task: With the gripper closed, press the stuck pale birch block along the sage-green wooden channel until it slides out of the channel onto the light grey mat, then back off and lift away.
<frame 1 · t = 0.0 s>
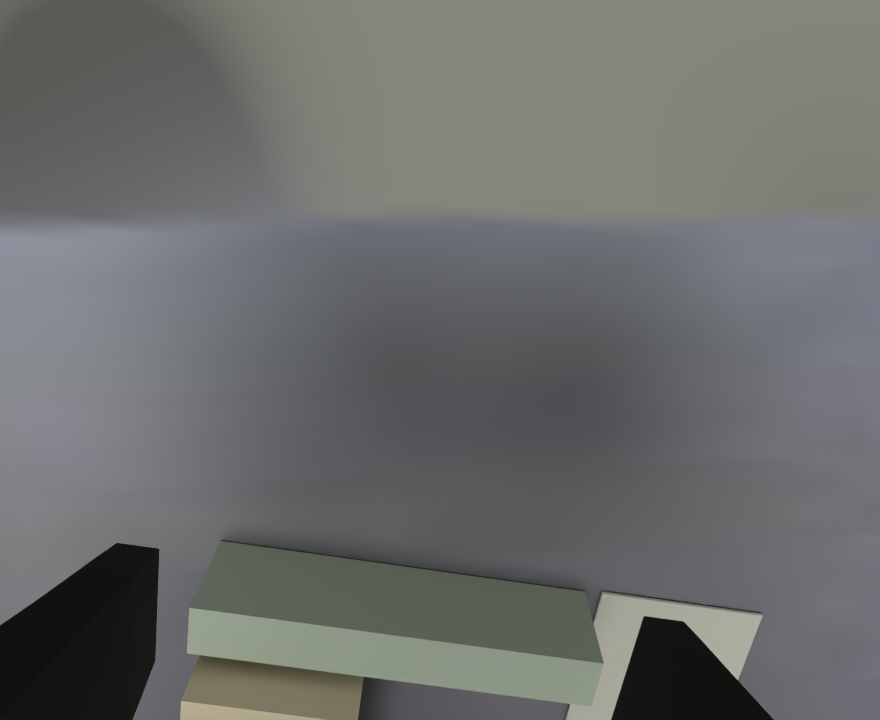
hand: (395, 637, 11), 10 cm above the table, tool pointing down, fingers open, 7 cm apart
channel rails: (383, 692, 25), on the table
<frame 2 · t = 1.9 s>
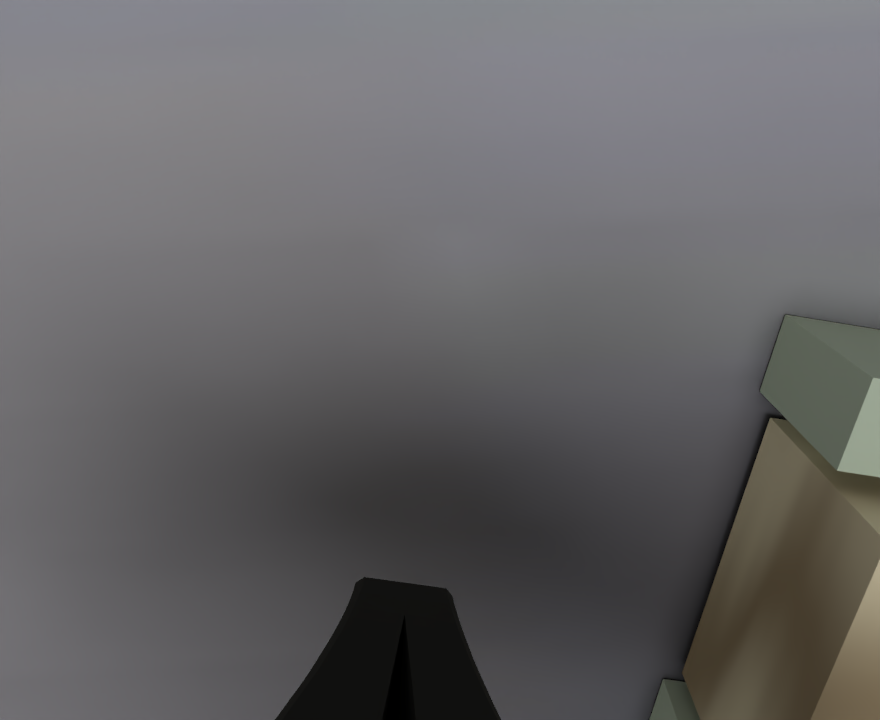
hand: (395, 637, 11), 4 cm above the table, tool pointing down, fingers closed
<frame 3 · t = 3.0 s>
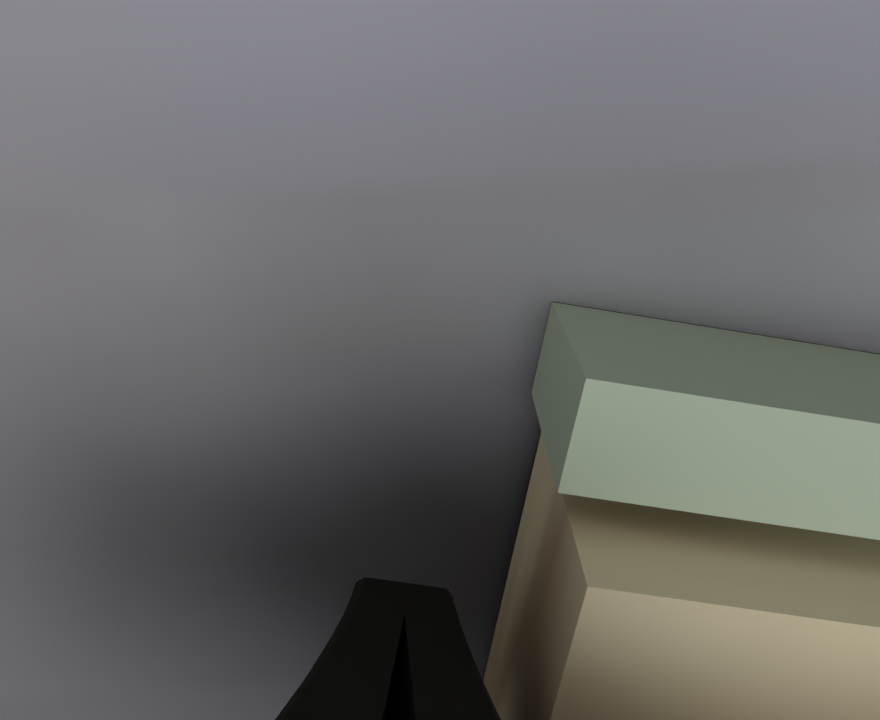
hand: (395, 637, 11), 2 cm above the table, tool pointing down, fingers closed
birch block: (667, 688, 11), point 2 cm above the table, slide at 0.0 cm
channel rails: (799, 615, 13), on the table
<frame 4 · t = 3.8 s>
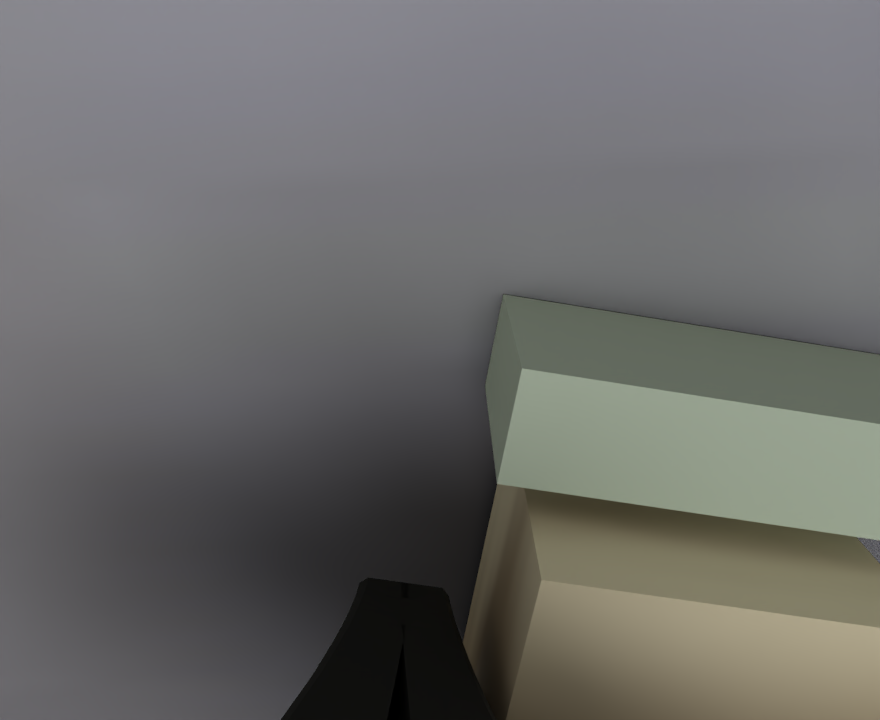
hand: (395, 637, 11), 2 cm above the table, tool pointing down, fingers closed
birch block: (633, 683, 11), point 2 cm above the table, slide at 0.2 cm, touching gripper
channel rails: (758, 610, 13), on the table
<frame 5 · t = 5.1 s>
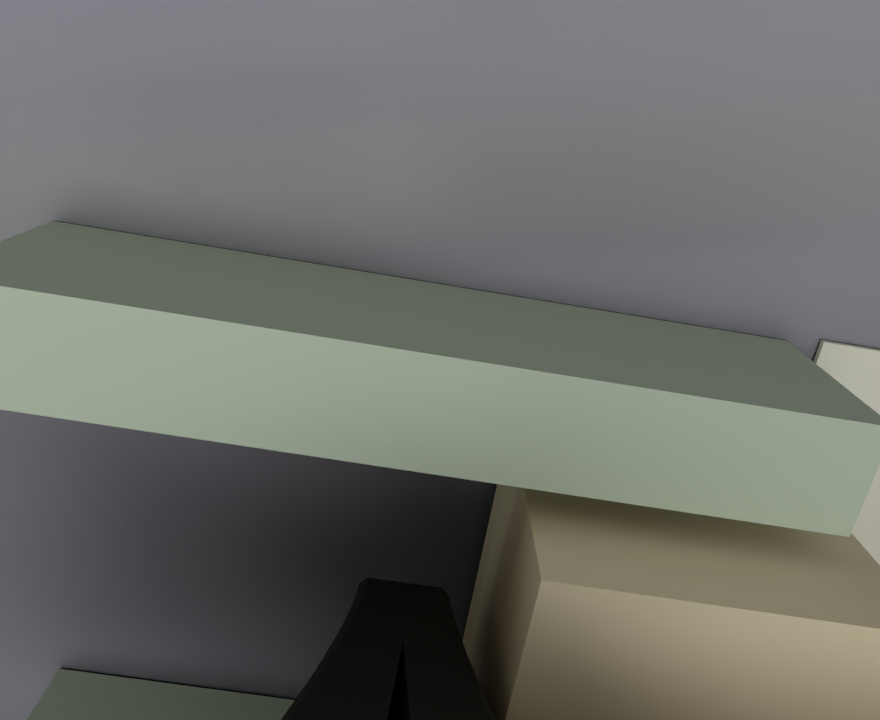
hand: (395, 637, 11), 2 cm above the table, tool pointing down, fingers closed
birch block: (632, 684, 11), point 2 cm above the table, slide at 6.9 cm, touching gripper
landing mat: (860, 625, 14), on the table
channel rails: (383, 557, 13), on the table
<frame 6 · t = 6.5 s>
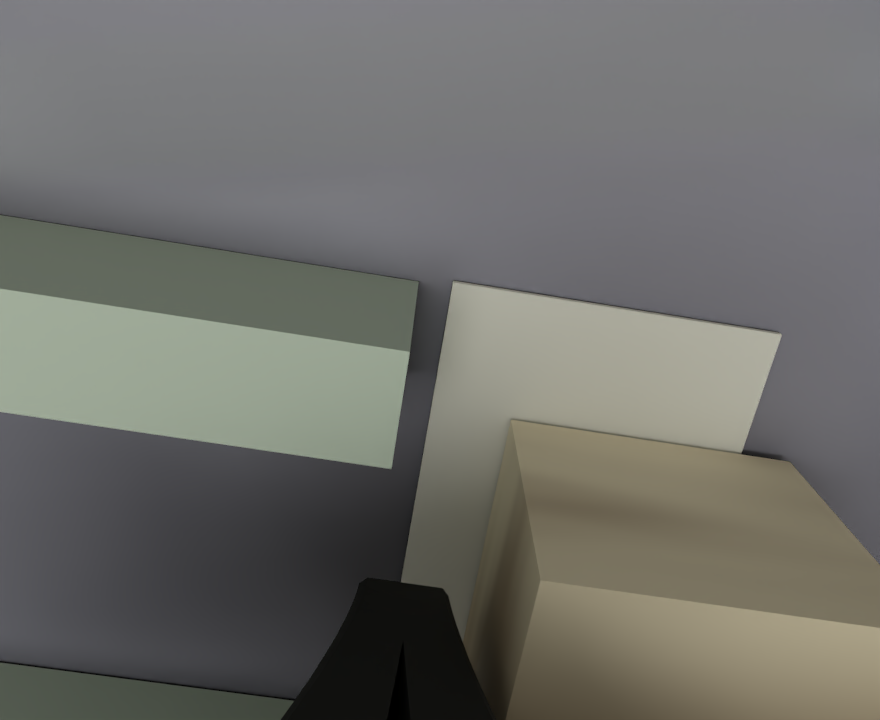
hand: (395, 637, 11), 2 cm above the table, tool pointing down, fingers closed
birch block: (633, 684, 11), point 2 cm above the table, slide at 12.5 cm, touching gripper
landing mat: (547, 580, 13), on the table
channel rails: (49, 510, 13), on the table
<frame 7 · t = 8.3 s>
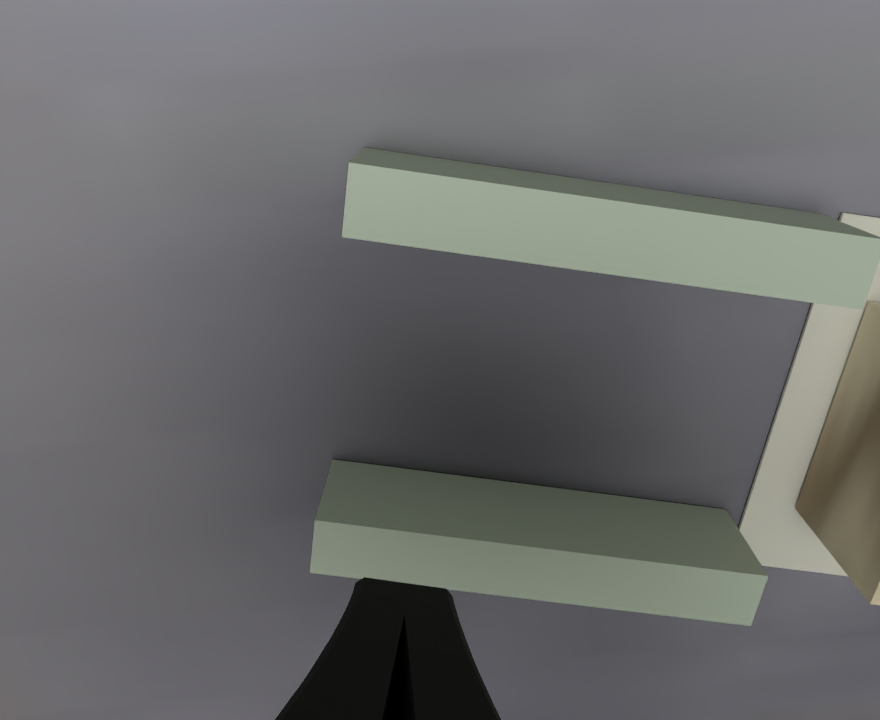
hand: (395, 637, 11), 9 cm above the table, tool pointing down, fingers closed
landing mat: (871, 413, 20), on the table
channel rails: (555, 371, 20), on the table
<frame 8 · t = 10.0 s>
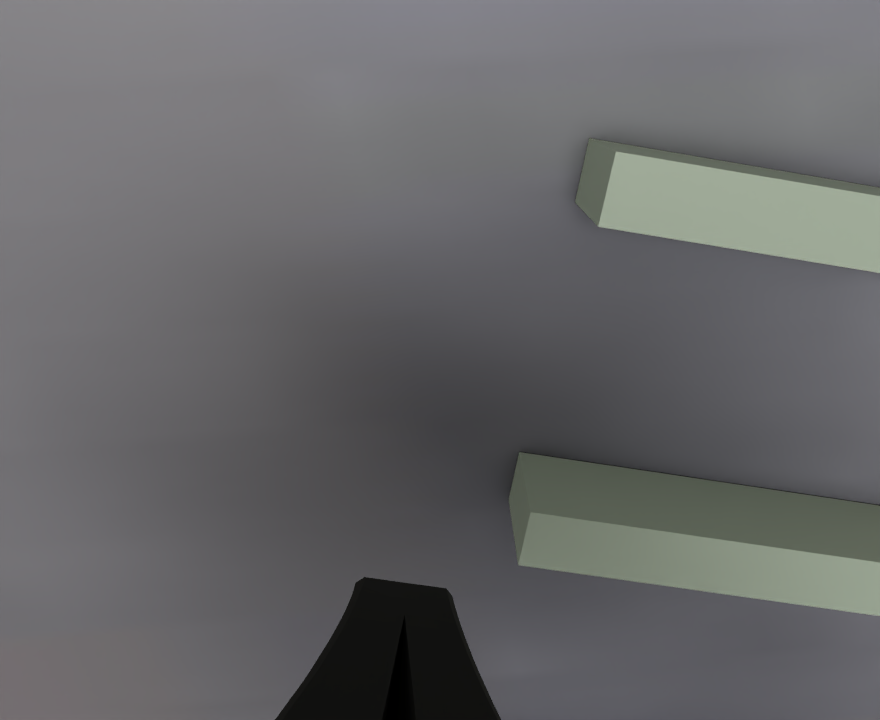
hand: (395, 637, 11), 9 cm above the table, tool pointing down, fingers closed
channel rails: (753, 367, 20), on the table
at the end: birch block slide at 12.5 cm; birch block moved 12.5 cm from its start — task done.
